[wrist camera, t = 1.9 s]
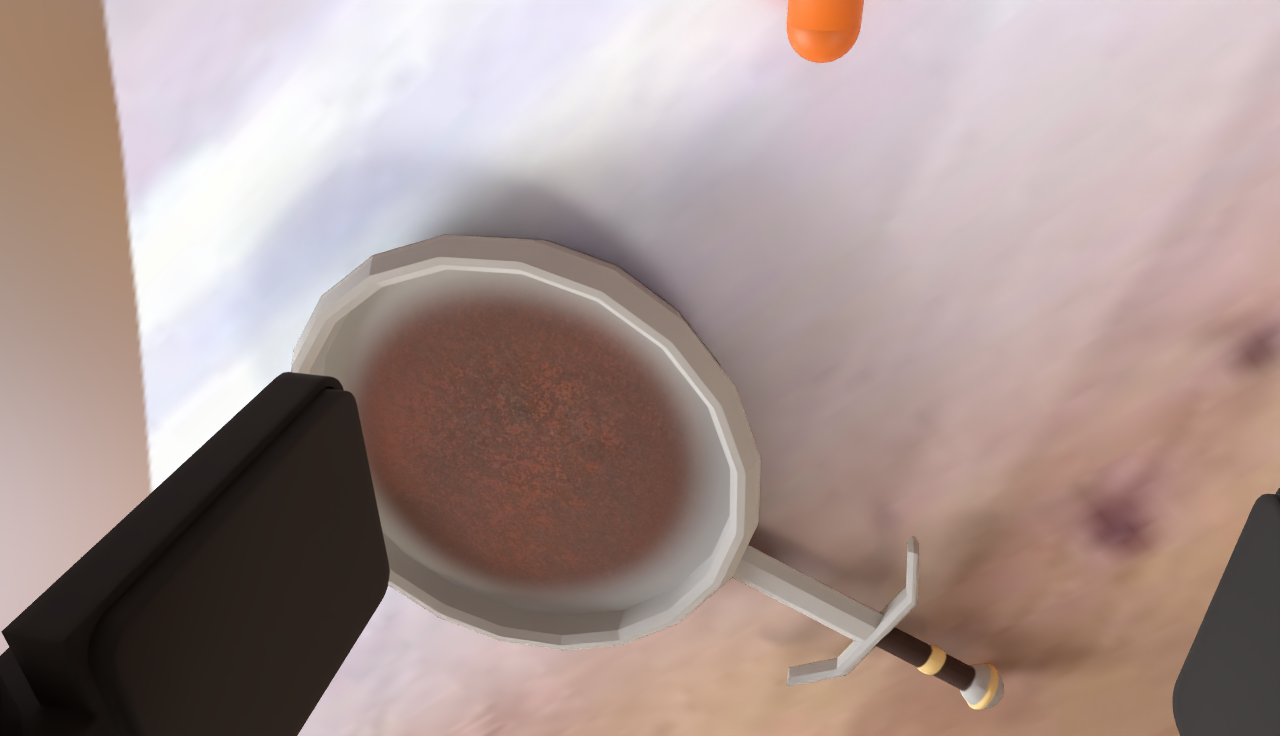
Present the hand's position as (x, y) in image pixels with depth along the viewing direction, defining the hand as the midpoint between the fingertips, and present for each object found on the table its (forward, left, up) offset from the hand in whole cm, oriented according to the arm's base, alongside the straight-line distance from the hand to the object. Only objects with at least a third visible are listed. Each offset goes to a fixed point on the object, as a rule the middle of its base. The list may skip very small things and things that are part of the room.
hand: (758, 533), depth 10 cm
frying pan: (+4, +14, -18) cm, 23 cm away
